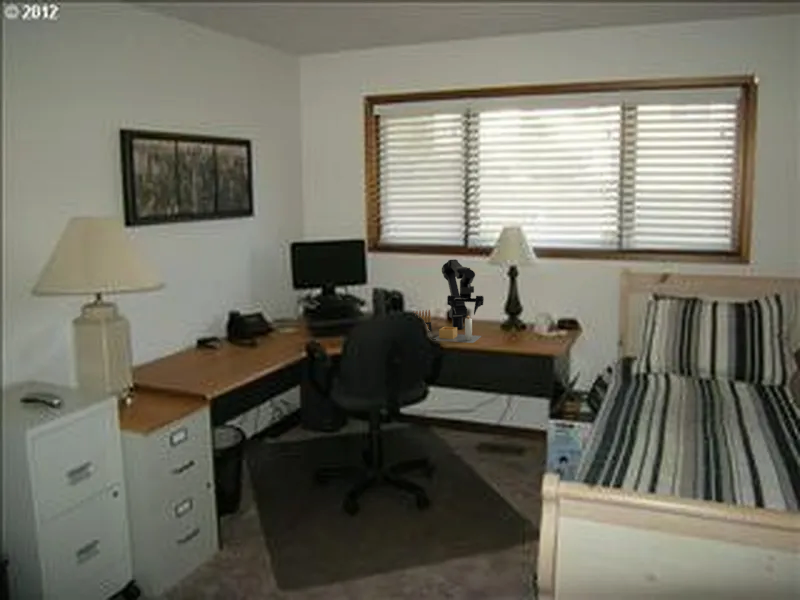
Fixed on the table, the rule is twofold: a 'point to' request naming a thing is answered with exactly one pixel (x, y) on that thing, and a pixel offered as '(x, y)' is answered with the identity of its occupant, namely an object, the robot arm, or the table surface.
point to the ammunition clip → (426, 318)
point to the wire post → (468, 329)
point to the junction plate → (453, 335)
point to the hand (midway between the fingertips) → (465, 314)
